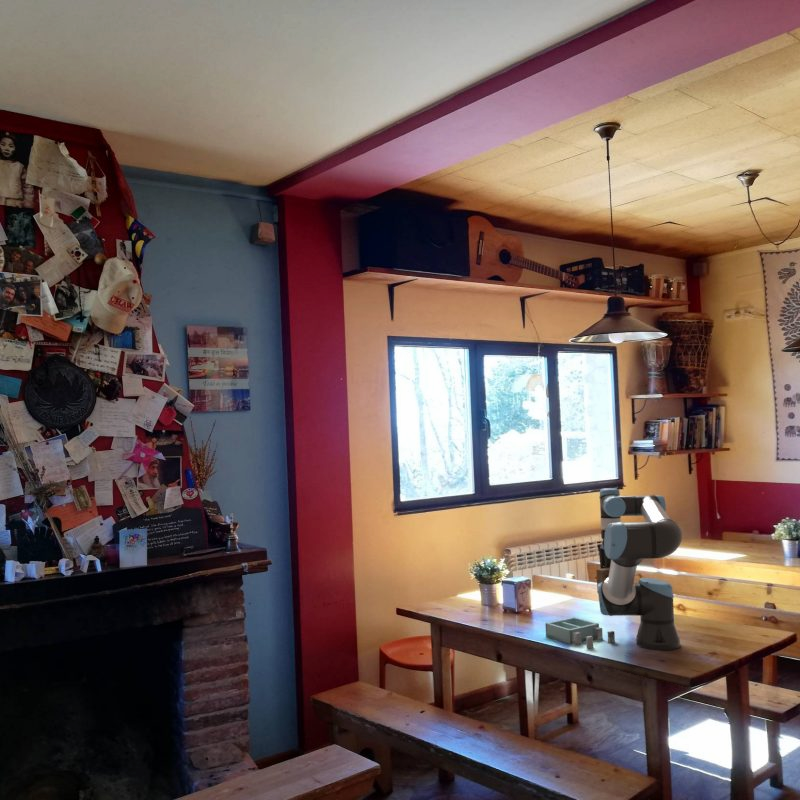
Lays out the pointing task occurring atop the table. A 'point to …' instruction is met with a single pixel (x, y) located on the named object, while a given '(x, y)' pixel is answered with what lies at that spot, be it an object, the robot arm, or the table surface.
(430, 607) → the table surface
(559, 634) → the box
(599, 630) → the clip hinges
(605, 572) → the door
